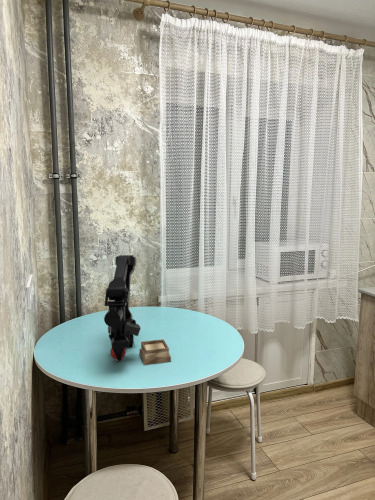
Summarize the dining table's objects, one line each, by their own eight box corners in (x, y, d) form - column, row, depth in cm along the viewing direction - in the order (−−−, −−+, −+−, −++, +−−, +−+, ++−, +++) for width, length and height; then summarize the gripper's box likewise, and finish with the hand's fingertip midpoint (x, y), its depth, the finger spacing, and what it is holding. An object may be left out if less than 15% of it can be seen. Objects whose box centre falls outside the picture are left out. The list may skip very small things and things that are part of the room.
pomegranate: (119, 356, 148) (118, 336, 147) (129, 360, 144) (128, 340, 143) (107, 361, 143) (107, 341, 142) (117, 365, 140) (117, 345, 139)
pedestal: (143, 364, 140) (143, 351, 140) (139, 353, 150) (139, 341, 150) (170, 361, 143) (170, 348, 143) (164, 350, 153) (164, 338, 152)
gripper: (142, 323, 135) (143, 364, 137) (135, 308, 152) (135, 345, 155) (111, 326, 132) (112, 368, 134) (107, 310, 149) (108, 348, 152)
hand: (118, 356), depth 144 cm, fingers closed on pomegranate, 6 cm apart
